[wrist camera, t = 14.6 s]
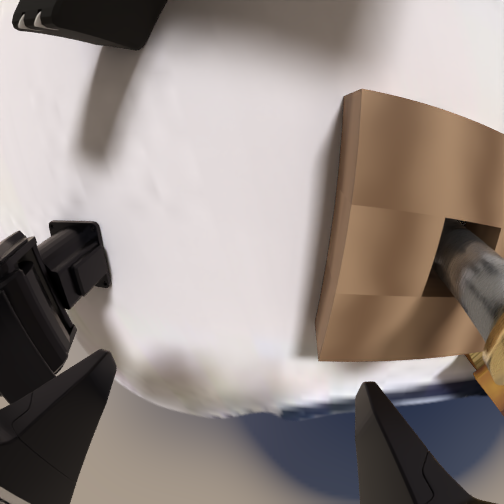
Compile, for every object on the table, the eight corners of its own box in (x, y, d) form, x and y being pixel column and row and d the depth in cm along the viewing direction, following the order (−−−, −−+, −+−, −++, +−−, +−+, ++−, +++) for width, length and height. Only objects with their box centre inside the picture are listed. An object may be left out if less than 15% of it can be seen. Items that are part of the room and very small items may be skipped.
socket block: (314, 322, 23) (318, 361, 19) (343, 96, 15) (361, 88, 11) (472, 322, 22) (490, 350, 18) (523, 152, 14) (556, 164, 10)
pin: (417, 274, 20) (489, 399, 9) (400, 222, 18) (499, 343, 7) (464, 247, 18) (554, 348, 7) (452, 193, 17) (572, 280, 5)
